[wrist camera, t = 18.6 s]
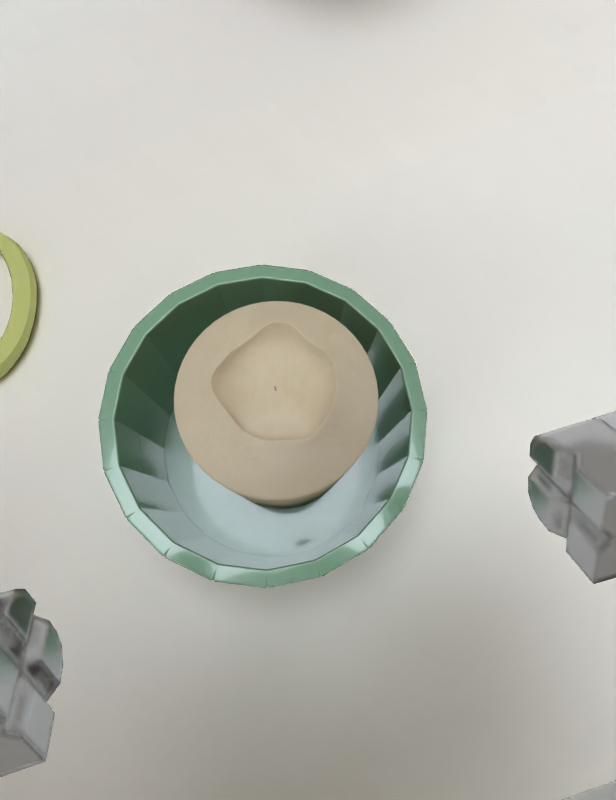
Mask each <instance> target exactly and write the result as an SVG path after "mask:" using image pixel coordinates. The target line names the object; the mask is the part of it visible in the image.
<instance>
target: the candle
mask: <svg viewBox="0 0 616 800" xmlns="http://www.w3.org/2000/svg"><path fill="white" fill-rule="evenodd" d="M377 412H378V387H377V380H376V377H375V373H374V369H373V367H372V364H371V362H370V359H369V357H368V355H367V353H366V352H365V350H364V348H363V347H362V345H361V344H360V342H359V341H358V340H357V339H356V337H355V336H354V335H353V334H352V333H351V332H350V331H349V330H348V329H347V328H346V327H345V326H344V325H343V324H341V323H340V322H339V321H337V320H336V319H335V318H333V317H331V316H330V315H328V314H326V313H324V312H322V311H320V310H318V309H315V308H313V307H310V306H307V305H303V304H299V303H293V302H286V301H269V302H260V303H255V304H250V305H247V306H244V307H241V308H238V309H236V310H234V311H232V312H229V313H227V314H225V315H224V316H222V317H221V318H219V319H218V320H216V321H215V322H213V323H212V324H211V325H210V326H209V327H207V328H206V329H205V330H204V331H203V332H202V333H201V334H200V335H199V336H198V338H197V339H196V340H195V341H194V343H193V344H192V346H191V347H190V348H189V350H188V352H187V353H186V355H185V357H184V359H183V361H182V364H181V366H180V369H179V372H178V375H177V379H176V384H175V391H174V413H175V418H176V424H177V427H178V430H179V434H180V437H181V439H182V441H183V443H184V445H185V447H186V449H187V451H188V452H189V454H190V455H191V457H192V458H193V460H194V461H195V462H196V463H197V465H198V466H199V467H200V468H201V469H202V470H203V471H204V472H205V473H206V474H207V475H209V476H210V477H211V478H212V479H213V480H215V481H216V482H218V483H219V484H221V485H222V486H224V487H226V488H227V489H229V490H231V491H233V492H235V493H236V494H238V495H240V496H242V497H244V498H245V499H247V500H249V501H251V502H254V503H256V504H258V505H262V506H265V507H270V508H275V509H287V508H295V507H299V506H303V505H305V504H308V503H310V502H312V501H314V500H316V499H318V498H319V497H321V496H322V495H324V494H325V493H326V492H327V491H328V490H329V489H330V488H331V487H333V486H334V485H335V484H336V483H337V482H338V481H339V480H340V479H341V478H342V477H343V476H344V475H345V474H346V472H347V471H348V470H349V469H350V468H351V467H352V466H353V465H354V464H355V463H356V461H357V460H358V459H359V458H360V456H361V455H362V453H363V451H364V450H365V448H366V446H367V445H368V443H369V440H370V438H371V436H372V433H373V430H374V427H375V423H376V420H377Z"/></svg>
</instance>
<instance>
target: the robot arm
mask: <svg viewBox="0 0 616 800" xmlns="http://www.w3.org/2000/svg"><path fill="white" fill-rule="evenodd" d="M530 457H531V458H532V459H533V460H534V461H535V462H536V463H537V465H536V467H535V468H534V470H533V471H532V472H531V474H530V475H529V477H528V493H529V496H530V500H531V503H532V506H533V509H534V511H535V512H536V514H537V516H538V518H539V519H540V521H541V522H542V523H543V524H544V526H545V527H546V528H547V529H548V531H550V532H552V533H555V534H557V535H560V536H562V537H564V538H566V552H567V553H568V554H569V556H570V557H571V558H572V559H573V560H574V561H575V563H576V564H577V565H578V566H579V567H580V569H581V570H582V571H583V572H584V573H585V574H586V576H587V577H588V578H589V579H590V580H591V581H592V583H593V584H596V583H599V582H602V581H606V580H609V579H613V578H616V411H614V412H611V413H608V414H605V415H601V416H598V417H595V418H593V419H591V420H586V421H583V422H579V423H576V424H573V425H570V426H566V427H563V428H560V429H556V430H553V431H550V432H547V433H543V434H540V435H537V436H534V438H533V440H532V442H531V444H530ZM35 605H36V602H35V601H34V599H33V598H32V597H31V596H30V594H29V593H28V592H27V591H26V590H25V589H14V590H10V591H6V592H3V593H0V777H3V776H5V775H8V774H11V773H14V772H17V771H20V770H22V769H25V768H28V767H31V766H34V765H37V764H39V763H42V762H45V761H46V757H47V752H48V746H49V741H50V736H51V730H52V725H53V720H54V714H55V713H54V711H53V710H52V708H51V707H50V705H49V704H48V702H47V701H48V699H49V698H50V696H51V695H52V694H53V692H54V691H55V690H56V688H57V687H58V686H59V684H60V681H61V675H62V669H63V656H62V644H61V642H60V639H59V636H58V634H57V631H56V630H55V628H54V627H53V625H52V624H51V622H50V621H48V620H46V619H43V618H40V617H37V616H34V615H33V614H34V610H35ZM562 800H616V780H615V781H612V782H610V783H607V784H604V785H601V786H598V787H596V788H593V789H590V790H587V791H585V792H582V793H579V794H576V795H573V796H571V797H568V798H565V799H562Z"/></svg>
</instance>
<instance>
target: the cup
mask: <svg viewBox="0 0 616 800" xmlns="http://www.w3.org/2000/svg"><path fill="white" fill-rule="evenodd" d="M269 301H286V302H293V303H299V304H303V305H307V306H310V307H313V308H315V309H318V310H320V311H322V312H324V313H326V314H328V315H330V316H331V317H333V318H335V319H336V320H337V321H339V322H340V323H341V324H343V325H344V326H345V327H346V328H347V329H348V330H349V331H350V332H351V333H352V334H353V335H354V336H355V337H356V339H357V340H358V341H359V342H360V344H361V345H362V347H363V348H364V350H365V352H366V353H367V355H368V357H369V359H370V362H371V364H372V367H373V369H374V373H375V377H376V380H377V387H378V412H377V420H376V423H375V427H374V430H373V433H372V436H371V438H370V440H369V443H368V445H367V446H366V448H365V450H364V451H363V453H362V455H361V456H360V458H359V459H358V460H357V461H356V463H355V464H354V465H353V466H352V467H351V468H350V469H349V470H348V471H347V472H346V474H345V475H344V476H343V477H342V478H341V479H340V480H339V481H338V482H337V483H336V484H335V485H334V486H333V487H331V488H330V489H329V490H328V491H327V492H326V493H325V494H324V495H322V496H321V497H319V498H318V499H316V500H314V501H312V502H310V503H308V504H305V505H303V506H299V507H295V508H287V509H275V508H270V507H265V506H262V505H258V504H256V503H254V502H251V501H249V500H247V499H245V498H244V497H242V496H240V495H238V494H236V493H235V492H233V491H231V490H229V489H227V488H226V487H224V486H222V485H221V484H219V483H218V482H216V481H215V480H213V479H212V478H211V477H210V476H209V475H207V474H206V473H205V472H204V471H203V470H202V469H201V468H200V467H199V466H198V465H197V463H196V462H195V461H194V460H193V458H192V457H191V455H190V454H189V452H188V451H187V449H186V447H185V445H184V443H183V441H182V439H181V437H180V434H179V430H178V427H177V424H176V418H175V413H174V391H175V384H176V379H177V375H178V372H179V369H180V366H181V364H182V361H183V359H184V357H185V355H186V353H187V352H188V350H189V348H190V347H191V346H192V344H193V343H194V341H195V340H196V339H197V338H198V336H199V335H200V334H201V333H202V332H203V331H204V330H205V329H206V328H207V327H209V326H210V325H211V324H212V323H213V322H215V321H216V320H218V319H219V318H221V317H222V316H224V315H225V314H227V313H229V312H232V311H234V310H236V309H238V308H241V307H244V306H247V305H250V304H255V303H260V302H269ZM426 410H427V408H426V404H425V400H424V396H423V392H422V388H421V384H420V380H419V375H418V371H417V367H416V364H415V363H414V360H413V358H412V356H411V355H410V353H409V352H408V350H407V348H406V347H405V345H404V343H403V342H402V340H401V339H400V337H399V335H398V334H397V332H396V331H395V329H394V327H393V326H392V324H391V323H390V322H389V321H388V319H387V318H385V317H384V316H383V315H382V314H381V313H380V312H378V311H377V310H376V309H375V308H374V307H373V306H371V305H370V304H369V303H368V302H367V301H366V300H364V299H363V298H362V297H361V296H360V295H359V294H357V293H356V292H355V291H354V290H353V291H352V289H350V288H348V287H346V286H343V285H341V284H339V283H337V282H334V281H332V280H330V279H328V278H325V277H323V276H321V275H318V274H316V273H314V272H312V271H308V270H302V269H293V268H285V267H277V266H269V265H262V266H261V265H256V266H250V267H244V268H238V269H232V270H226V271H220V272H215V274H214V273H212V274H210V275H208V276H206V277H204V278H202V279H199V280H197V281H195V282H193V283H191V284H189V285H187V286H185V287H183V288H181V289H179V290H177V291H175V292H173V293H171V295H168V296H167V297H166V298H165V299H164V300H163V301H162V302H161V303H160V304H159V305H157V306H156V307H155V308H154V309H153V310H152V311H151V312H150V313H149V314H148V315H147V316H146V317H144V318H143V319H142V320H141V321H140V322H139V323H138V324H137V325H136V326H135V328H133V330H132V331H131V333H130V335H129V337H128V338H127V340H126V342H125V344H124V345H123V347H122V349H121V350H120V352H119V354H118V356H117V357H116V359H115V361H114V363H113V364H112V366H111V368H110V371H109V372H108V377H107V382H106V386H105V391H104V395H103V400H102V405H101V409H100V414H99V422H98V423H99V432H100V441H101V450H102V459H103V469H104V471H105V475H106V477H107V479H108V481H109V483H110V486H111V488H112V490H113V492H114V494H115V496H116V498H117V500H118V503H119V505H120V507H121V509H122V511H123V513H124V515H125V517H126V518H127V520H128V521H129V522H130V523H131V524H132V525H133V526H134V527H135V528H136V529H137V530H138V531H139V532H140V533H141V534H142V535H143V536H144V537H145V538H146V539H147V540H148V542H149V543H150V544H151V545H152V546H153V547H154V548H155V549H156V550H157V551H158V552H159V553H160V554H161V555H162V556H165V558H167V559H169V560H171V561H173V562H175V563H177V564H179V565H181V566H183V567H185V568H187V569H189V570H191V571H193V572H195V573H197V574H199V575H201V576H203V577H205V578H207V579H209V580H213V581H215V582H223V583H231V584H239V585H247V586H255V587H263V588H266V587H269V588H270V587H275V586H280V585H284V584H289V583H294V582H299V581H304V580H308V579H313V578H318V577H320V576H324V575H325V574H327V573H329V572H331V571H332V570H334V569H336V568H337V567H339V566H341V565H343V564H344V563H346V562H348V561H349V560H351V559H353V558H354V557H356V556H358V555H360V554H361V553H363V552H365V551H366V550H368V548H370V547H371V546H372V545H373V543H374V542H375V541H376V540H377V539H378V538H379V537H380V535H381V534H382V533H383V532H384V531H385V530H386V529H387V527H388V526H389V525H390V524H391V523H392V522H393V520H394V519H395V518H396V517H397V516H398V515H399V514H400V512H401V511H402V510H403V508H404V507H405V504H406V502H407V499H408V497H409V495H410V492H411V490H412V487H413V485H414V483H415V480H416V478H417V475H418V473H419V471H420V468H421V466H422V463H423V461H422V460H423V459H424V448H425V434H426V420H427V411H426Z"/></svg>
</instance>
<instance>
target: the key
mask: <svg viewBox="0 0 616 800" xmlns="http://www.w3.org/2000/svg"><path fill="white" fill-rule="evenodd" d="M0 254H1V255H2V256H3V257H4V259H5V261H6V264H7V266H8V269H9V272H10V276H11V279H12V290H13V302H12V310H11V316H10V319H9V322H8V325H7V327H6V330H5V332H4V334H3V337H2V338H1V340H0V378H2V377H3V376H4V375H5V374H6V373H7V372H8V371H9V370H10V369H11V368H12V367H13V365H14V364H15V363H16V361H17V360H18V359H19V357H20V355H21V354H22V352H23V350H24V349H25V347H26V344H27V342H28V340H29V337H30V333H31V330H32V326H33V323H34V318H35V313H36V303H37V284H36V279H35V274H34V271H33V268H32V266H31V263H30V261H29V259H28V257H27V256H26V254H25V252H24V251H23V250H22V248H21V247H20V246H19V245H18V244H17V243H15V242H14V241H13V240H11V239H10V238H9V237H7V236H5V235H4V234H2V233H0Z"/></svg>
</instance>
